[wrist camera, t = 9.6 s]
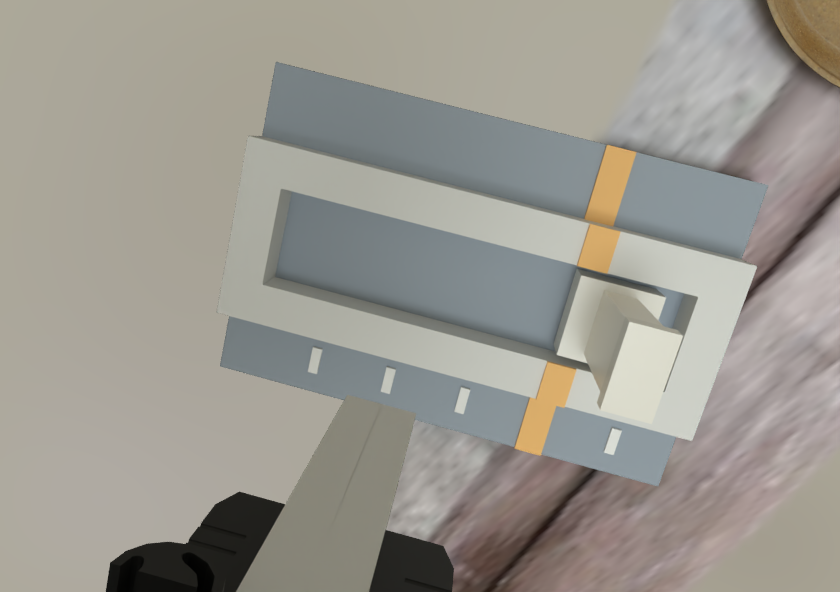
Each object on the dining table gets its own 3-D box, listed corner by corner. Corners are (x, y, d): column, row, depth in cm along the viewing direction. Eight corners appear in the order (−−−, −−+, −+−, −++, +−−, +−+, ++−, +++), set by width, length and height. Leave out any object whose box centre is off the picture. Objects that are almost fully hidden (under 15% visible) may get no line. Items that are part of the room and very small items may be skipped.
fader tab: (631, 365, 34) (675, 436, 26) (553, 344, 34) (572, 407, 26) (657, 289, 33) (712, 337, 25) (576, 268, 33) (604, 309, 25)
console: (649, 468, 37) (668, 508, 33) (233, 355, 38) (202, 380, 34) (752, 183, 33) (788, 188, 29) (288, 66, 35) (260, 55, 30)
